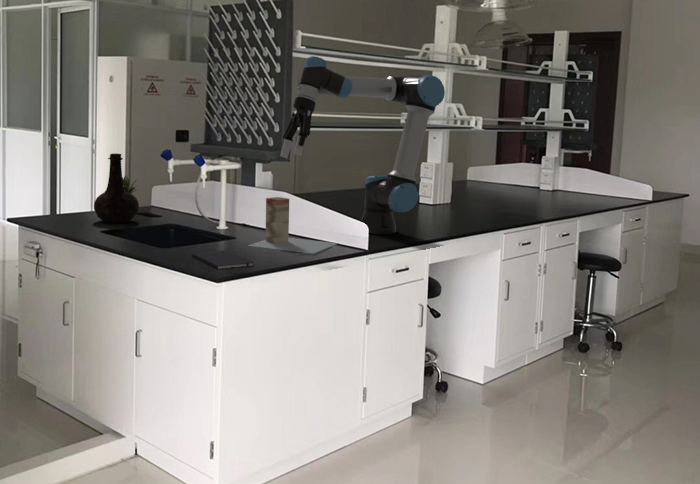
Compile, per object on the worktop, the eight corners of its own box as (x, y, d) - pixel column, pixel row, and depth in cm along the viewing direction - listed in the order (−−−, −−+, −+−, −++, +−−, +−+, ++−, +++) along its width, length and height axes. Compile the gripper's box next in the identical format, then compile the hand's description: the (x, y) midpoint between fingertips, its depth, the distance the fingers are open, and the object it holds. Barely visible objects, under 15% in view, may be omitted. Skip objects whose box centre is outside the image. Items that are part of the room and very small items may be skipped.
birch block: (265, 240, 288) (266, 198, 285) (277, 239, 293) (278, 196, 290) (276, 243, 284) (277, 199, 282) (288, 241, 289) (289, 198, 286)
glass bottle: (111, 226, 309) (110, 156, 304) (85, 221, 320) (83, 152, 315) (148, 222, 324) (147, 154, 318) (121, 216, 334) (120, 151, 329)
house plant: (102, 207, 357) (101, 172, 354) (130, 205, 366) (129, 171, 363) (117, 211, 347) (116, 175, 344) (145, 209, 356) (145, 174, 353)
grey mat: (276, 237, 299) (276, 236, 299) (338, 244, 289) (338, 243, 289) (247, 247, 279) (247, 245, 279) (313, 255, 269) (313, 253, 269)
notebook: (191, 257, 260) (217, 270, 243) (191, 253, 260) (217, 265, 243) (226, 254, 267) (254, 267, 250) (226, 250, 267) (254, 262, 250)
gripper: (284, 100, 289) (269, 154, 287) (309, 91, 266) (293, 150, 264) (302, 107, 292) (287, 161, 290) (329, 98, 269) (313, 157, 268)
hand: (290, 156), depth 277 cm, fingers open, 13 cm apart
